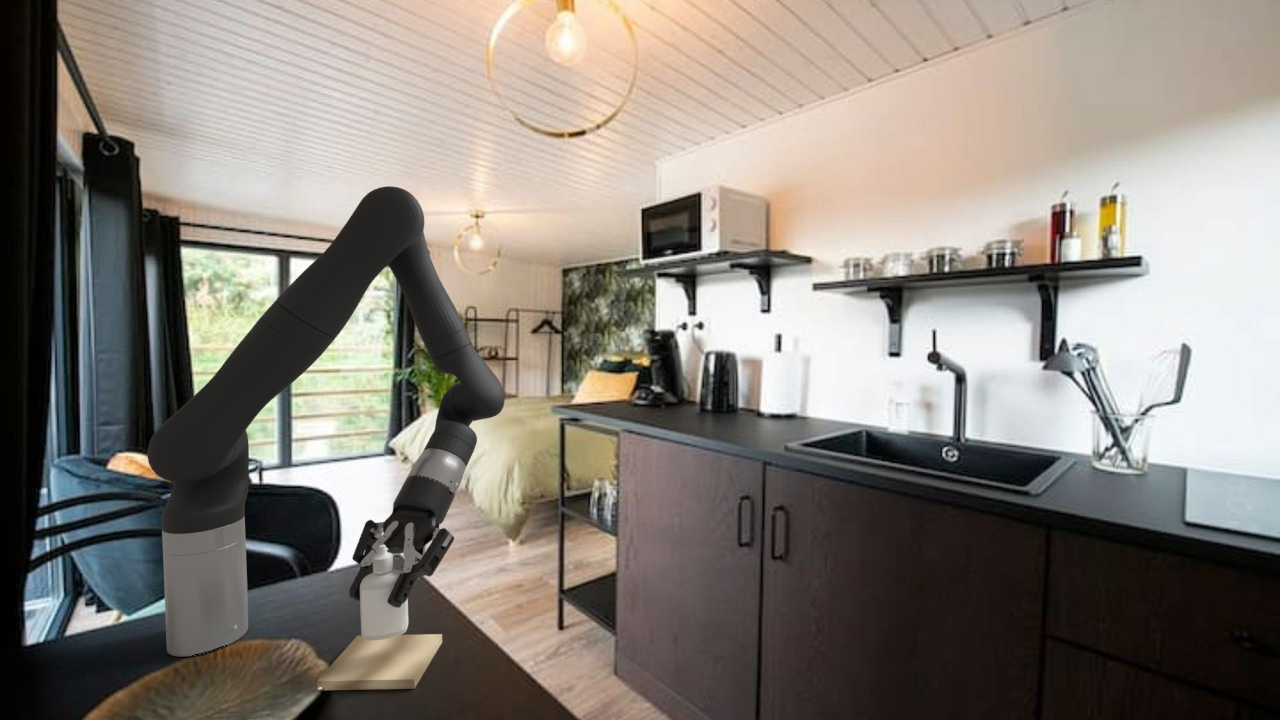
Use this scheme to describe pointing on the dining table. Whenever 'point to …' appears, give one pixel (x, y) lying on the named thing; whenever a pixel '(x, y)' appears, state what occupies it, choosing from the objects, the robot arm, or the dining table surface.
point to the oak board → (381, 663)
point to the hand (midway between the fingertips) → (374, 601)
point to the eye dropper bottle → (381, 601)
